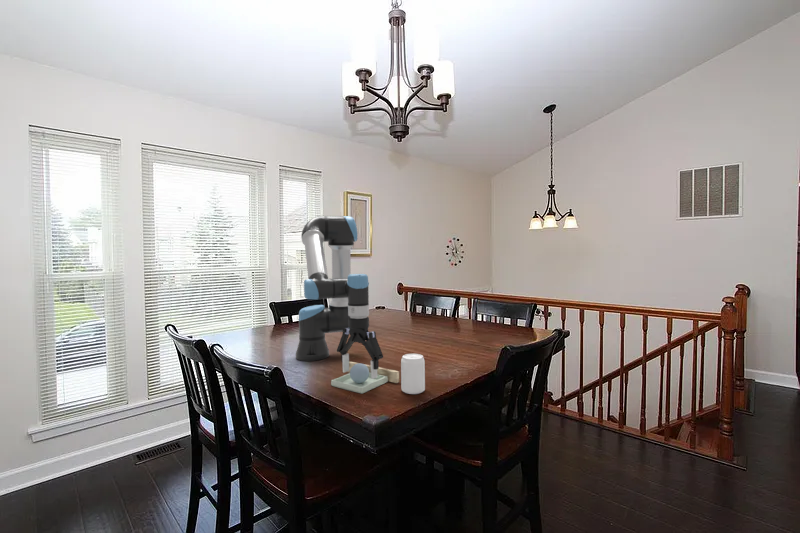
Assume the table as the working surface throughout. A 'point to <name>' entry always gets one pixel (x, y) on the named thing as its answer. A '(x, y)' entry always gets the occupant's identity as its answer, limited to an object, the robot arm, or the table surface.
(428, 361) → the table surface
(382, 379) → the tray
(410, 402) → the table surface
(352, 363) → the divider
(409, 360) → the beverage can
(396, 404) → the table surface
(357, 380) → the ball
